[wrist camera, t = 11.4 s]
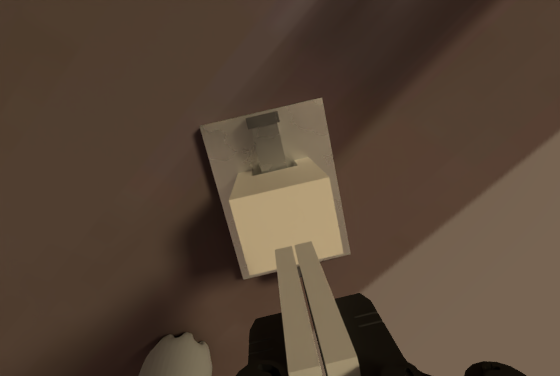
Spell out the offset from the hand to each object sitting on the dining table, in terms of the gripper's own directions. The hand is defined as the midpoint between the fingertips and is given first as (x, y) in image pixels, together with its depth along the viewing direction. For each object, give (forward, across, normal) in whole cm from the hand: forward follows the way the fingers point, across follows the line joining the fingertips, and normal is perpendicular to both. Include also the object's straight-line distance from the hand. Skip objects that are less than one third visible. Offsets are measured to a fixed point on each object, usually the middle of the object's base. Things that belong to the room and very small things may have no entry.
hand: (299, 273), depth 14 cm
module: (+13, 0, 0) cm, 13 cm away
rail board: (+14, 0, 0) cm, 14 cm away
